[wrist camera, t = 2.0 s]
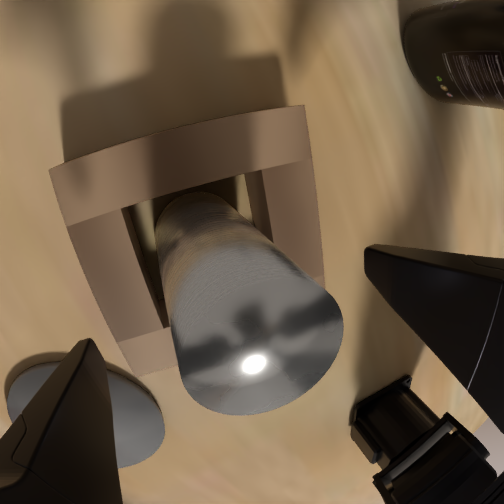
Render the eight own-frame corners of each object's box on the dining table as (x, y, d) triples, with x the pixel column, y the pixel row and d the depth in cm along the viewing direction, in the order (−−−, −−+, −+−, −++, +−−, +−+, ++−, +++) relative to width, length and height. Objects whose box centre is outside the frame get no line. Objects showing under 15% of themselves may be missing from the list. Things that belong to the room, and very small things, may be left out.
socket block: (279, 107, 14) (304, 105, 12) (304, 290, 18) (326, 311, 16) (64, 162, 12) (48, 169, 9) (133, 346, 16) (136, 377, 14)
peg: (229, 181, 15) (341, 253, 7) (245, 259, 16) (343, 379, 8) (144, 206, 14) (152, 316, 6) (168, 283, 15) (208, 432, 7)
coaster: (122, 341, 16) (122, 348, 15) (185, 447, 20) (186, 453, 20) (-21, 378, 13) (-23, 384, 13) (64, 470, 18) (64, 475, 17)
